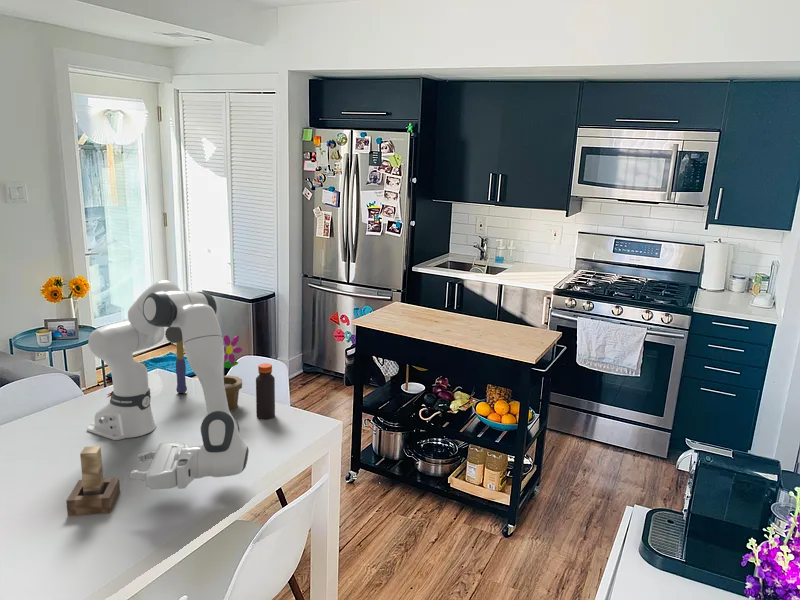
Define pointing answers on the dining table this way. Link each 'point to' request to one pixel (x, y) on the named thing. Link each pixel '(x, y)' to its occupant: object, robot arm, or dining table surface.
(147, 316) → the robot arm
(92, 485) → the light wooden block
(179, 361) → the rubber mallet
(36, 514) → the dining table surface
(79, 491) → the wooden square ring
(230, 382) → the flowerpot
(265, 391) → the bottle
